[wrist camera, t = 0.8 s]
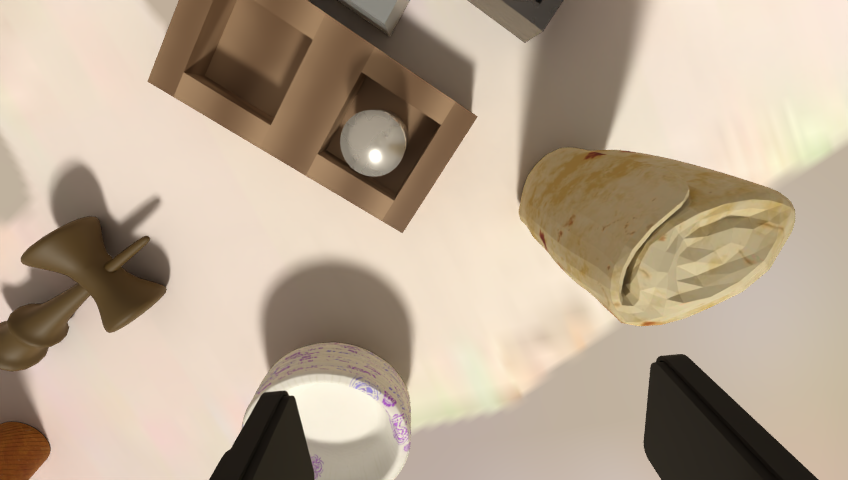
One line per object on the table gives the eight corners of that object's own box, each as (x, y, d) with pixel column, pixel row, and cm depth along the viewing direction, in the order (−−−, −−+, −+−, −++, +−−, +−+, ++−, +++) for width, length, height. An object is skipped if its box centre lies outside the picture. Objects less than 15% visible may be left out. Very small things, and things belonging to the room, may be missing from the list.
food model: (534, 241, 38) (650, 377, 19) (493, 187, 36) (575, 275, 17) (624, 177, 36) (856, 255, 17) (586, 117, 34) (795, 127, 15)
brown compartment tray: (179, 84, 33) (147, 81, 29) (232, -47, 30) (205, -69, 26) (404, 220, 37) (402, 233, 33) (471, 115, 34) (477, 116, 30)
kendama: (-3, 298, 40) (128, 184, 36) (76, 362, 42) (207, 264, 38) (-74, 331, 34) (73, 201, 30) (23, 403, 37) (169, 293, 33)
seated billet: (372, 98, 32) (360, 96, 26) (418, 128, 33) (417, 133, 27) (346, 145, 34) (328, 154, 27) (391, 172, 34) (384, 188, 28)
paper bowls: (440, 372, 42) (444, 430, 35) (362, 462, 46) (350, 531, 38) (317, 297, 39) (293, 342, 32) (245, 399, 43) (208, 461, 36)
